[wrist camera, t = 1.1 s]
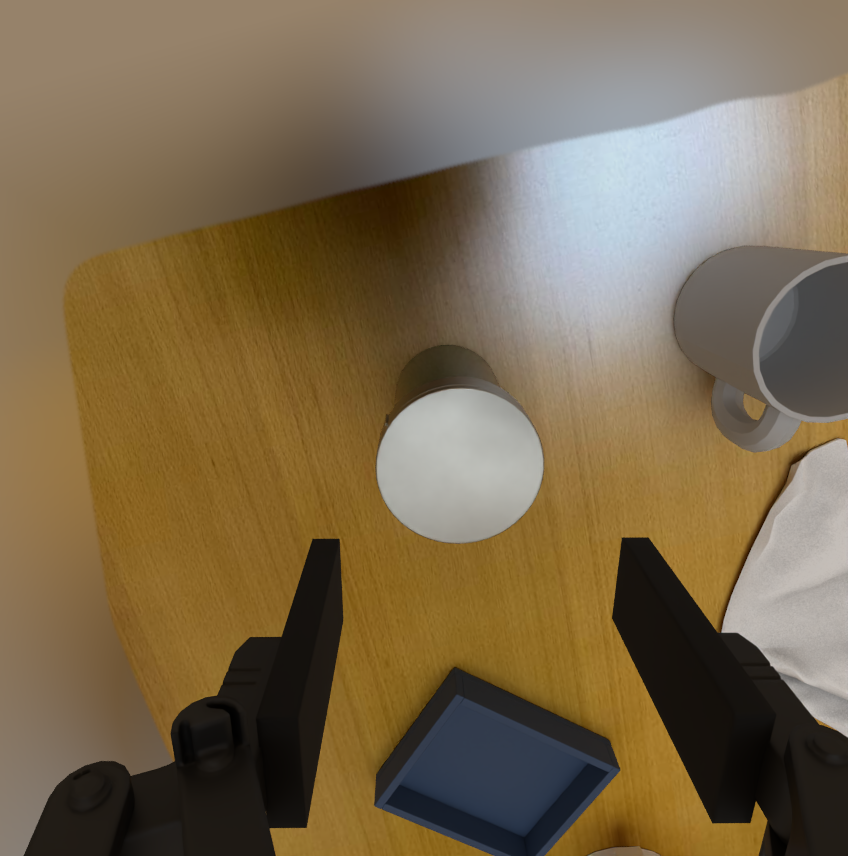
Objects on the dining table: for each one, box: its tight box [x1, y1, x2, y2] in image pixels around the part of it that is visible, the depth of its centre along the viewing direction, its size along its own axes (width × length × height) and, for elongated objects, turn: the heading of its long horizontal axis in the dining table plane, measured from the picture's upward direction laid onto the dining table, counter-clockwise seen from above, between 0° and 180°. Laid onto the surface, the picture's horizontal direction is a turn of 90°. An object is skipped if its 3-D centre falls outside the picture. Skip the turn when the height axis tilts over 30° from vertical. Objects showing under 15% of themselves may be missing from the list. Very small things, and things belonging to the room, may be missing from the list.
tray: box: [374, 667, 620, 856], centre depth 44 cm, size 13×11×3 cm
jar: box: [394, 345, 501, 407], centre depth 31 cm, size 6×6×10 cm
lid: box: [376, 376, 544, 544], centre depth 26 cm, size 7×7×2 cm
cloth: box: [722, 438, 848, 737], centre depth 40 cm, size 26×14×2 cm, turn 13°
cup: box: [674, 246, 848, 452], centre depth 31 cm, size 7×10×9 cm
